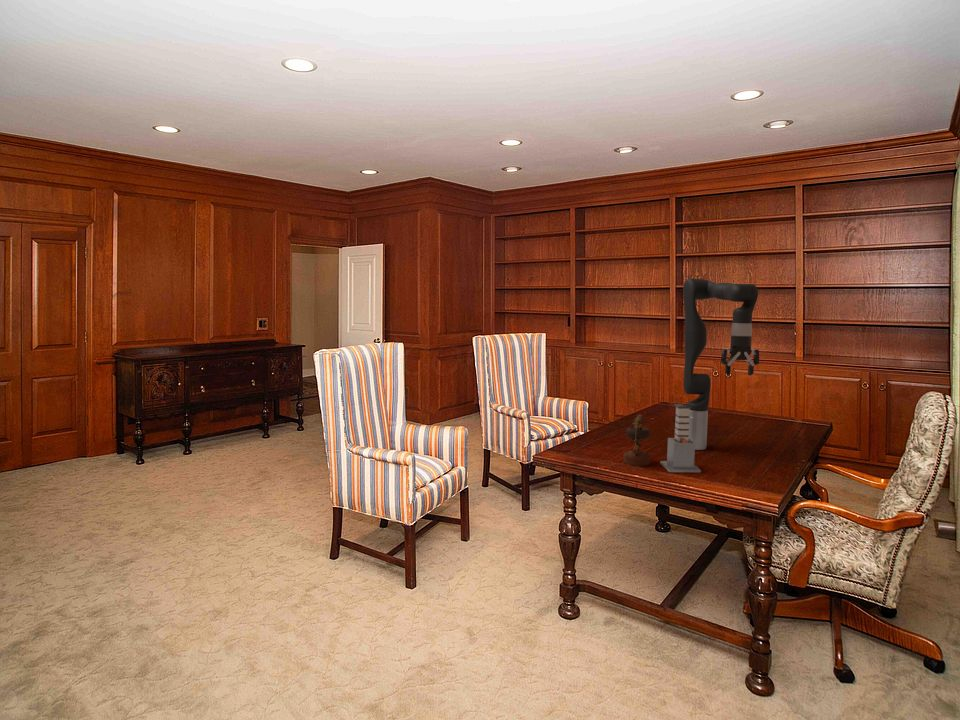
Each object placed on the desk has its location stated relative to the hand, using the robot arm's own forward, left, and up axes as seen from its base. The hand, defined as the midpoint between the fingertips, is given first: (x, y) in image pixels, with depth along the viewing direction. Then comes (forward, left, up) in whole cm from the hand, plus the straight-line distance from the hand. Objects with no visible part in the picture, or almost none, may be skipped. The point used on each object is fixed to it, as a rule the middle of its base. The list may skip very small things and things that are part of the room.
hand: (739, 375), depth 237 cm
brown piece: (0, -39, -36) cm, 54 cm away
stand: (+8, -24, -36) cm, 44 cm away
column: (+8, -24, -30) cm, 39 cm away
